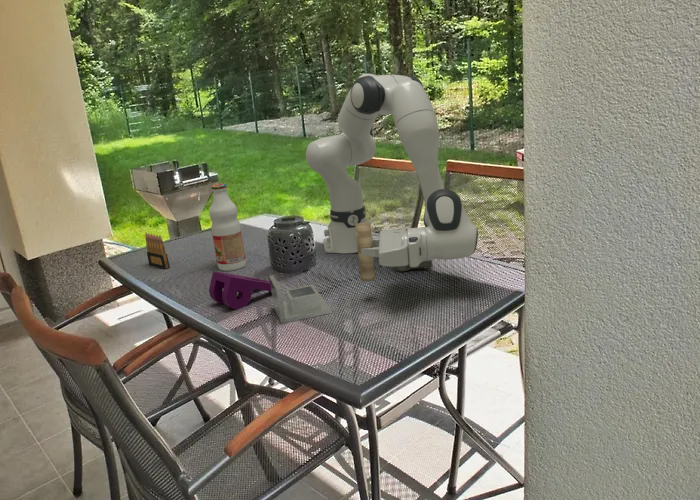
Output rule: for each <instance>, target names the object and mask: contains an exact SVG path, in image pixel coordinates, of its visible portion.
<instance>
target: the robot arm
mask: <svg viewBox="0 0 700 500" xmlns="http://www.w3.org/2000/svg"><path fill="white" fill-rule="evenodd" d="M428 95H429V94H428V93H427V91H426V90H425V88H424V85H423V82H422V81H421V80H420V79H419V78H418V77H416V76H413V75H409V74H406V75H401V74H392V73H391V74H390V73H389V74H380V75H379V74H378V75H377V74H373V73H363V74H361V75H360V76H358V78H356V79H355V80H354V81H353V84H352V85H351V87H350V90H349V91H348V93H347V95H346V97H345V99H344V101H343V104H342V106H341V109H340V112H339V113H338V116H337V125H338V127H339V129H340V131H341V133H340V134H336V135H331V136H324V137H320V138H319V139H316V140H313V141H311V142H310V143H308V145H307V147H306V149H305V159H306V162H307V165H308V167H310V169H312V170H313V172H314V171H315V172H317V173H318V174H319V175H320V176H321V177H322V179H323V181H324V182H325V185H326V187H327V190H328V196H329V203H330V210H329V212H330V213H329V217H330V222H329V224H328V226H327V229H324V230H323V234H324V237H326V238H323V239H322V240H323V241H322V243H323V248H324V249H323V250H324V252H325V253H327V254H328V253H333V254H335V253H336V254H354V253H358V249H357V238H356V228H355V225H356V224H358V223H364V222H367V223H370V224H371V221H370V220H369V219H367V218H366V217H367V215H366V211H367V210H366V208H365V206H364V201H363V200H364V199H363V189H362V188H363V187H362V184H361V183H360V182H359V181H358V180H356V179H355V178H352V177H350V176H349V173H348V170H347V168H348V167H353V166H354V167H355V166H359V165H362V164H364V163H366V162H369V161H370V160H372V159H373V158H374V157H375V156H376V155H375V154H376V151H377V150H376V149H377V144H376V141H375V139H374V137H373V136H372V135H371V131H372V129H373V125H374V123H375V122H376V120H377V117H378V115H381V116H385V115H386V116H387V115H388V116H389V115H392V118H393V121H394V122H393V123H394V125H395V129H396V132H397V134H398V137H399V139H400V142H401V144H402V146H403V148H404V150H405V152H406V155H407V156H408V157H409V159H410V162H411V164H412V166H413V168H414V170H415V173H416V177H417V180H418V183H419V187H420V189H421V193H422V198H423V200H424V213H423V225H424V226H423V227H412V228H411V227H408V228H406V229H407V230H404V229H383V230H380V231H379V235H378V237H379V238H373V236H372V245H373V248H368V247H365V248H364V247H363V248H362V249H361V255H362V256H367V255H368V256H373V257H374V258H378V264H379V265H380V266H381V267H382V266H383V267H393V266H407V265H408V264H409V266H410V267H417V266H419V264H420V263H421V262H423V261H430V260H432V261H433V260H442V261H446V260H447V261H449V260H459V259H464V258H468V257H471V256H472V255H473V254H474V253H475V252H476V250H477V247H478V246H477V245H478V242H479V241H478V239H479V231H478V227H477V225H475V224H474V223H473V222H472V220H471V219H470V217H469V216H468V214H467V212H466V210H465V208H464V205H463V203H462V200H461V197H460V196H459V194H458V193H457V192H455V191H453V190H451V189H449V188H445V185H444V182H443V178H442V175H441V171H440V167H439V150H440V130H439V129H440V128H439V124H438V123H439V122H438V119H437V116H436V115H437V114H436V113H435V110H434V107H433V105H432V102H431V100H430V98H429V96H428ZM372 230H373V229H371V233H372V234H373V231H372Z"/></svg>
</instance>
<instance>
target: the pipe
mask: <svg viewBox="0 0 700 500" xmlns="http://www.w3.org/2000/svg"><path fill="white" fill-rule="evenodd" d="M432 266H433V260H430V261H423V262H421V263H420V264H419V266H417V267H410V266H409V264H408V265H407V266H392V267H393V269H394V270H395V271H397V272H407V271H411V270H422V269H423V270H424V269H429V268H432Z"/></svg>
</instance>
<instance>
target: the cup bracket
mask: <svg viewBox="0 0 700 500" xmlns="http://www.w3.org/2000/svg"><path fill="white" fill-rule="evenodd" d="M268 279H269V280H268V281H269V282H270V286H271V291H270V293H271V298H272V306H273V310H274V311H275V313H276V316H277V318H278V319H279V322H280V324H285V323H289V322H295V321H300V320H304V319H309V318H313V317H318V316H319V317H320V316H324V315H327V314H332V313H333V312H332V308H331V307H330V305H329V304H328V303H327V301H326V300H325V299H324V297H323V296H322V295H321V294H320V293H319V291H318V290H317V288H316V287H315V286H314V284H310V285H305V286H299V287H295V288H289V289H285V290H284V293H285V294H284V295H285V300H286V301H285V300H284V299H283V294H282V293H283V292H282V288H281V285H279V283H278V281H277V279H276V277H275V276H274V275H273V274H272V275H269V276H268Z"/></svg>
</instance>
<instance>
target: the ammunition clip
mask: <svg viewBox="0 0 700 500" xmlns="http://www.w3.org/2000/svg"><path fill="white" fill-rule="evenodd" d="M144 236H145V237H144V238H145V246H146V256H147V259H148V260H147V261H148V265H149V266H150V267H155V268H158V269H162V270H169V269H171V266H170V263H169V257H168V254H167V251H166V247H165V245H164V241H163V238H162V236H161V234H160V235H158V234H153V233H150V232H148V233H147V232H145V235H144Z"/></svg>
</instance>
